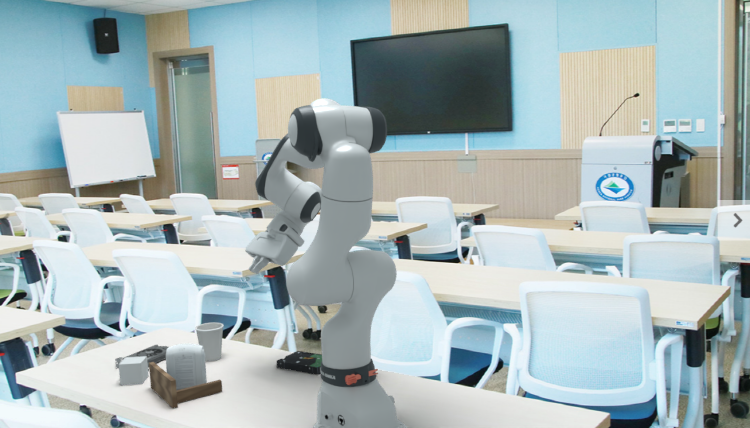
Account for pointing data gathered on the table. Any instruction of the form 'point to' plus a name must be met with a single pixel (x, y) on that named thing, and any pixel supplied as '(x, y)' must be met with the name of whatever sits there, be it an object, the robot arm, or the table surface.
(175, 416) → the table surface
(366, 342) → the robot arm
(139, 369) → the grey cube
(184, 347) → the photo printer
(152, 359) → the graphics card
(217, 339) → the dixie cup
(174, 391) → the dock
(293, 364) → the disk drive
